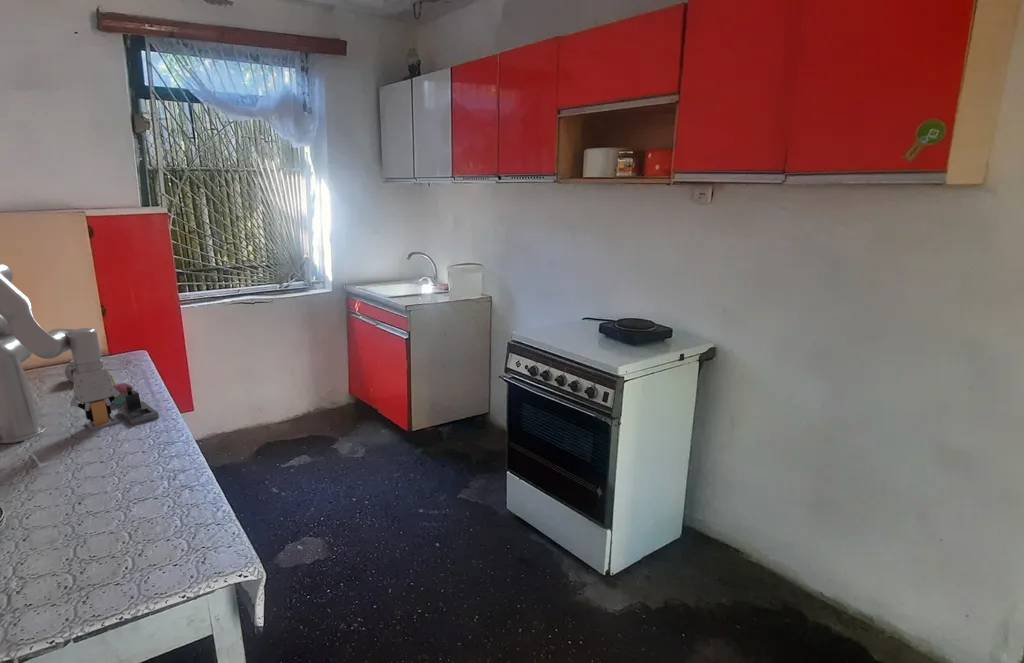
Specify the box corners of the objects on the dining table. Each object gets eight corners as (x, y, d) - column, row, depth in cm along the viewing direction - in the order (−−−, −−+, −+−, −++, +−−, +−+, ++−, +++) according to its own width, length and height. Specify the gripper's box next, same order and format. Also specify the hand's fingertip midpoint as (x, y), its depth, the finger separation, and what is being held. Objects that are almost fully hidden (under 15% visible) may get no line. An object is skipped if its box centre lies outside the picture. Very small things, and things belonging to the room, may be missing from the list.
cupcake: (113, 409, 209) (106, 377, 206) (104, 403, 214) (97, 372, 211) (140, 401, 215) (133, 370, 212) (130, 396, 220) (124, 366, 217)
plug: (95, 426, 192) (89, 400, 190) (91, 423, 195) (86, 397, 192) (109, 422, 195) (104, 396, 193) (105, 419, 198) (100, 394, 195)
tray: (92, 431, 190) (91, 428, 189) (85, 425, 195) (84, 422, 195) (120, 424, 196) (119, 420, 195) (113, 417, 201) (112, 414, 200)
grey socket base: (159, 419, 199) (154, 391, 196) (132, 426, 193) (126, 398, 190) (143, 407, 209) (138, 381, 207) (118, 414, 203) (112, 387, 201)
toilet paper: (73, 378, 243) (68, 355, 240) (102, 374, 247) (97, 351, 244) (67, 385, 234) (62, 362, 231) (97, 381, 238) (92, 358, 235)
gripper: (60, 375, 181) (72, 429, 186) (122, 362, 193) (131, 414, 198) (54, 369, 186) (66, 423, 191) (115, 358, 198) (124, 408, 203)
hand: (99, 417), depth 194 cm, fingers closed on plug, 4 cm apart
